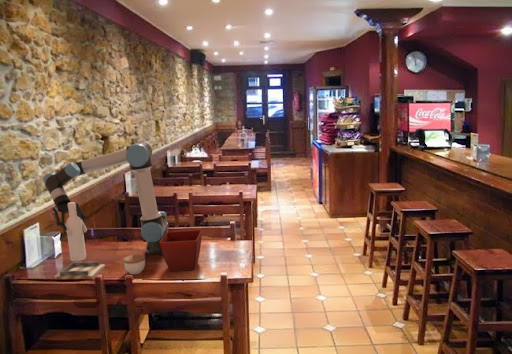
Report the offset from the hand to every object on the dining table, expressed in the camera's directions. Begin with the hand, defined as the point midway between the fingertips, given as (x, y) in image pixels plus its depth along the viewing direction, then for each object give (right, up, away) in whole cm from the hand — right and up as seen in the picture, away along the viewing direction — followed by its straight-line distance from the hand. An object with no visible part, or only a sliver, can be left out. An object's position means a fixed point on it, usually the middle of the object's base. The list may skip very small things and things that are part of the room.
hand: (78, 232), depth 244 cm
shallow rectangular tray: (-1, -22, +6) cm, 23 cm away
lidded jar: (+29, -21, +3) cm, 36 cm away
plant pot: (+53, -19, +7) cm, 57 cm away
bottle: (-2, -14, +5) cm, 15 cm away
